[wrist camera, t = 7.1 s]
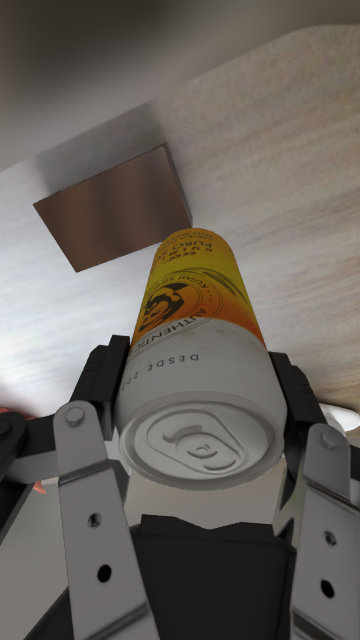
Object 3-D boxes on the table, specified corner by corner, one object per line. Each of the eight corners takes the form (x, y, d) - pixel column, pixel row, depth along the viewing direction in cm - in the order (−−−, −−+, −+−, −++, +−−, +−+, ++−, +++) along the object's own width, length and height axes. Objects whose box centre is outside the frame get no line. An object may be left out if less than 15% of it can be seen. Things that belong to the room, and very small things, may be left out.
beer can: (201, 205, 19) (224, 352, 7) (249, 270, 21) (330, 463, 9) (137, 259, 21) (65, 442, 9) (187, 311, 24) (186, 510, 11)
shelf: (166, 142, 32) (162, 145, 28) (192, 218, 36) (192, 230, 32) (50, 195, 35) (32, 204, 31) (88, 257, 40) (76, 273, 36)
